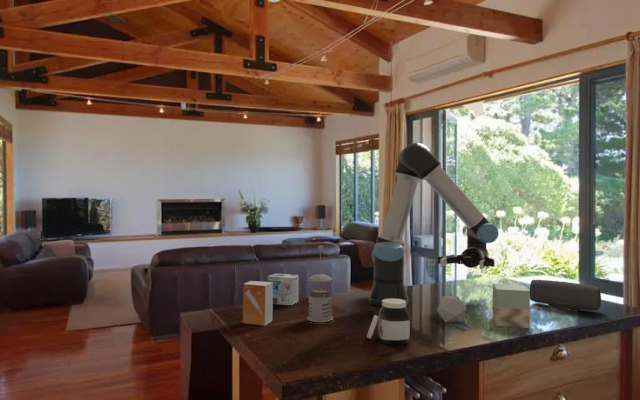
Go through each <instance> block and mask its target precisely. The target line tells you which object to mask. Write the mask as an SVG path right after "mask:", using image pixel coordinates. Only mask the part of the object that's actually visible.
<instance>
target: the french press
mask: <svg viewBox="0 0 640 400" xmlns="http://www.w3.org/2000/svg"><path fill="white" fill-rule="evenodd" d="M317 249H318V250H319V260H320V261H319V264H320V265H319V273H317V274H313V275H311V276H310V277H309V278H308V280H309V281H310V282H313V283H319V288H312V289H310V290H309V292H310V293H309V294H308V316H307V317H306V318H307V319H308V320H310V321H314V322H326V321H330V320H333V318H334V317H333V312H332V310H333V309H332V307H333V305H332V302H333V300H332V299H333V295H332V294H331V292H332V291H331V290H330V289H329V288H330V284H329V283H330V282H332V281H333V278H332V277H330V276H329V275H327V274H324V273H322V271H321V270H322V266H321V265H322V261H321V260H322V254H321V253H322V250H324V246H323V245H318V246H317ZM327 285H328V286H327ZM322 286H323V288H321V287H322ZM326 286H327V287H328V288H326Z"/></svg>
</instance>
